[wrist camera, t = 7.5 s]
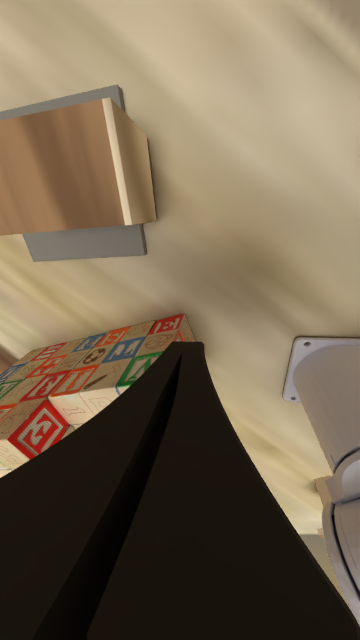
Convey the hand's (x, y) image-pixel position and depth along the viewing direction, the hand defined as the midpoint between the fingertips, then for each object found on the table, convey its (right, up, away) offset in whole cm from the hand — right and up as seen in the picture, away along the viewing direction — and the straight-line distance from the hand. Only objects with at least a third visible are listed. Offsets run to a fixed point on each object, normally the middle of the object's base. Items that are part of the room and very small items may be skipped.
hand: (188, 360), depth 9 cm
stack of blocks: (-9, -2, +15) cm, 18 cm away
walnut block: (-3, +10, +3) cm, 11 cm away
